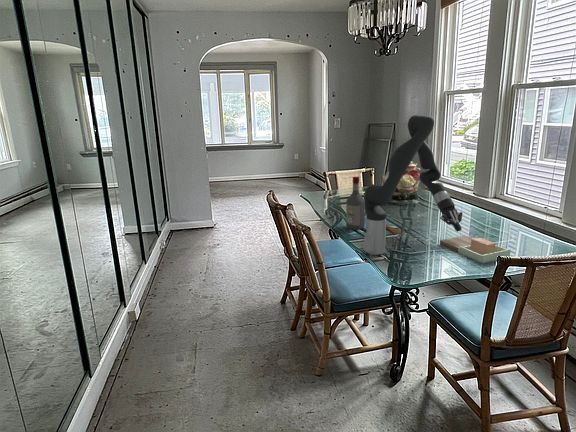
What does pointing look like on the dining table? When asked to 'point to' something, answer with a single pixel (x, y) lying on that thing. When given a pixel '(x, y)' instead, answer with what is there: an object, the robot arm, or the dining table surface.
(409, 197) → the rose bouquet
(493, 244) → the salmon-coloured block
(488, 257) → the tray
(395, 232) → the primitive tool
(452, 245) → the board
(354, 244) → the dining table surface
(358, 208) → the liquor
